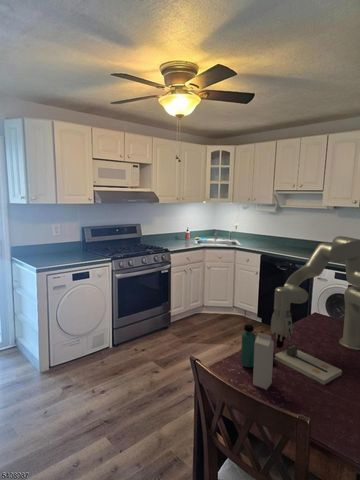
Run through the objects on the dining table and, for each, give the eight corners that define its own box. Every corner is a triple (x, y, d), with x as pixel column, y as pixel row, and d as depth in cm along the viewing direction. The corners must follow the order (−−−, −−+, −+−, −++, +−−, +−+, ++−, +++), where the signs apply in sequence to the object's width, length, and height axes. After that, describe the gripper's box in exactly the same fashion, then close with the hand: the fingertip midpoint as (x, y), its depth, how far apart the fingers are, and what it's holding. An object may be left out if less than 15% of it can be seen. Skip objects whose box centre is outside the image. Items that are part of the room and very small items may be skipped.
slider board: (291, 350, 161) (291, 346, 160) (341, 374, 139) (342, 369, 139) (273, 358, 153) (274, 354, 152) (324, 384, 132) (324, 379, 131)
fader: (291, 351, 155) (292, 344, 154) (297, 354, 152) (297, 347, 152) (286, 353, 152) (286, 346, 152) (291, 356, 150) (292, 349, 149)
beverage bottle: (255, 371, 142) (257, 329, 139) (240, 369, 143) (241, 327, 140) (254, 363, 148) (256, 323, 145) (240, 362, 149) (241, 322, 146)
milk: (258, 378, 136) (260, 329, 133) (272, 383, 132) (274, 333, 130) (252, 384, 131) (254, 334, 128) (266, 390, 128) (268, 338, 125)
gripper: (299, 315, 151) (297, 351, 154) (274, 306, 164) (272, 339, 166) (289, 318, 147) (287, 355, 150) (264, 309, 159) (263, 343, 162)
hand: (279, 347), depth 158 cm, fingers closed
